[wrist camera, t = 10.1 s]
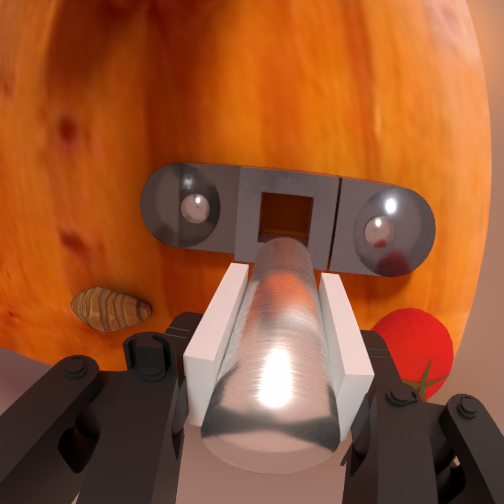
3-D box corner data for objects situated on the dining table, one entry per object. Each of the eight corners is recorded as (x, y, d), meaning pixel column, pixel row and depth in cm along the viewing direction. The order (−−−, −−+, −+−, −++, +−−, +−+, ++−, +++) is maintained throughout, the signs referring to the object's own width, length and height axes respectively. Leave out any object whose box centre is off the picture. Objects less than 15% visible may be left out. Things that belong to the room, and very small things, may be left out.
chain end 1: (148, 238, 34) (138, 245, 32) (149, 161, 31) (138, 162, 29) (322, 257, 33) (324, 265, 30) (332, 174, 30) (336, 176, 27)
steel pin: (253, 286, 18) (201, 463, 6) (258, 233, 17) (199, 385, 5) (306, 293, 18) (320, 477, 6) (315, 241, 17) (359, 402, 5)
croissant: (149, 281, 36) (131, 298, 31) (159, 327, 38) (144, 348, 34) (71, 279, 38) (50, 293, 33) (83, 320, 40) (65, 336, 35)
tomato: (402, 378, 37) (422, 430, 27) (335, 358, 37) (345, 416, 27) (449, 310, 33) (486, 356, 23) (382, 280, 33) (413, 328, 23)
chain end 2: (240, 248, 33) (233, 262, 29) (246, 165, 30) (239, 167, 26) (411, 266, 32) (426, 282, 27) (426, 190, 29) (445, 196, 24)
